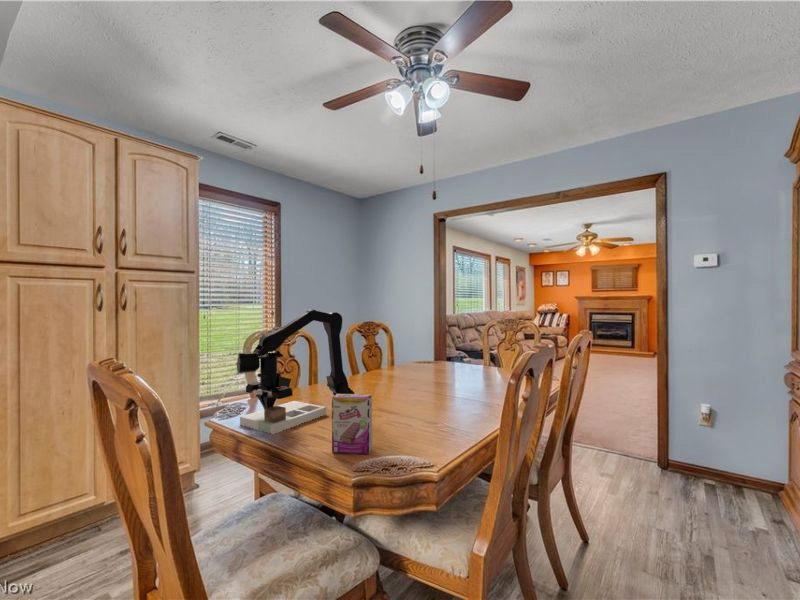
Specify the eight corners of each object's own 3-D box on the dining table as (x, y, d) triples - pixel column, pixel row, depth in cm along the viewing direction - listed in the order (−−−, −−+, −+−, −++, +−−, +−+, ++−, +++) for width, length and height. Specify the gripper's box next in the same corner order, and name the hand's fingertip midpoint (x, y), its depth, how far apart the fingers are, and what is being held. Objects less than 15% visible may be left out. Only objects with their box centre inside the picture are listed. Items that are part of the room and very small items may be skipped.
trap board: (326, 414, 148) (326, 407, 148) (273, 434, 127) (273, 425, 127) (294, 407, 158) (294, 400, 158) (239, 425, 137) (239, 416, 137)
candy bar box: (331, 454, 110) (330, 397, 110) (336, 447, 115) (335, 393, 115) (369, 455, 109) (369, 398, 109) (372, 448, 114) (372, 393, 114)
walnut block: (285, 419, 133) (285, 407, 133) (273, 423, 129) (273, 411, 129) (276, 416, 136) (276, 405, 136) (264, 420, 132) (264, 409, 132)
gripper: (304, 369, 137) (304, 412, 137) (270, 364, 147) (270, 405, 147) (279, 374, 128) (279, 421, 128) (244, 369, 138) (245, 412, 138)
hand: (268, 414), depth 136 cm, fingers closed
